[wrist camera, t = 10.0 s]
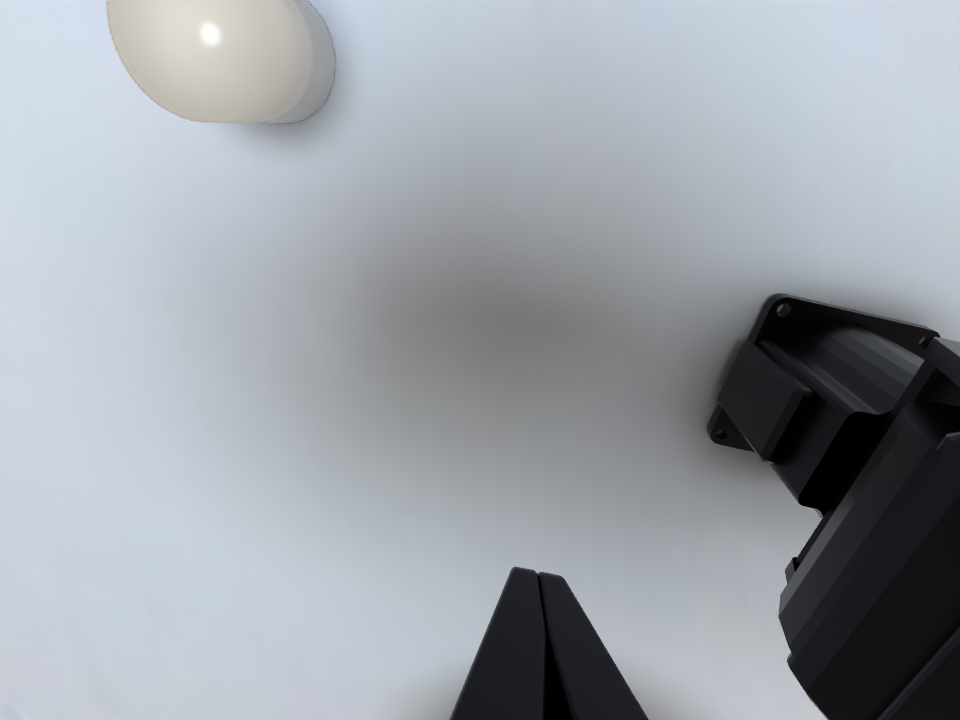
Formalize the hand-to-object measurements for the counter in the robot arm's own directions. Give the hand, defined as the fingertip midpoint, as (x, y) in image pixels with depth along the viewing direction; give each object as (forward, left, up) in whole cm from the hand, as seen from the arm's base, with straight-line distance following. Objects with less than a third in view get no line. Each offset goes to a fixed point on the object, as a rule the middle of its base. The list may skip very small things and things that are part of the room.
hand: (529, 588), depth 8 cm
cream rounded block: (+10, -7, -13) cm, 18 cm away
